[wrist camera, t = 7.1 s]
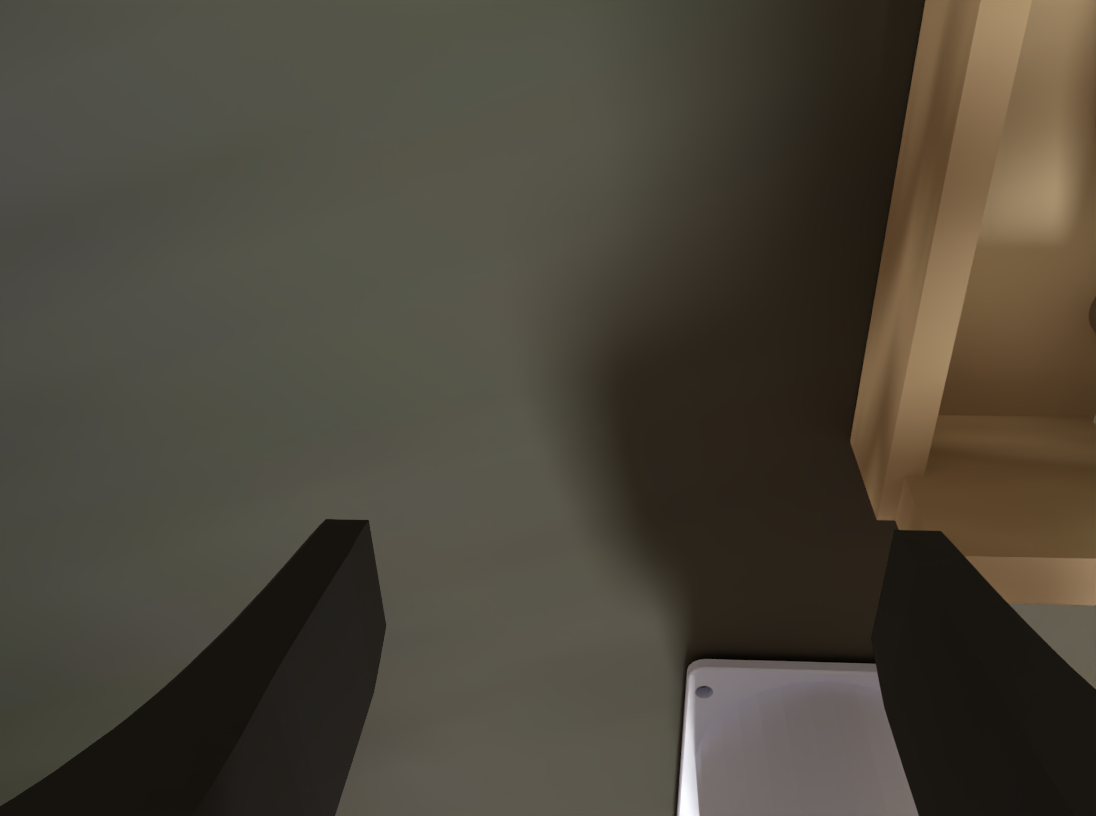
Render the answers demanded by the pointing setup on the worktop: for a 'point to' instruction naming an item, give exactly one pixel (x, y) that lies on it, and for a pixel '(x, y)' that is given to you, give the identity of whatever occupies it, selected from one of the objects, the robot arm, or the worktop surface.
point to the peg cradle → (992, 300)
